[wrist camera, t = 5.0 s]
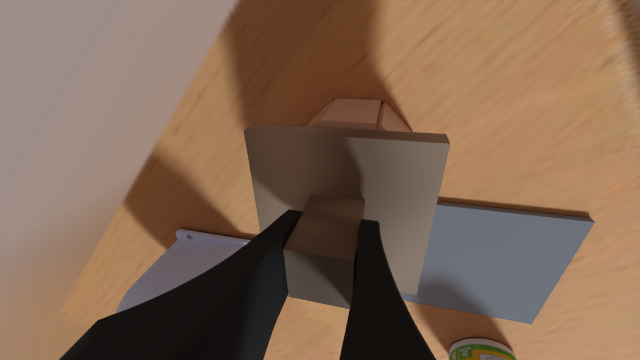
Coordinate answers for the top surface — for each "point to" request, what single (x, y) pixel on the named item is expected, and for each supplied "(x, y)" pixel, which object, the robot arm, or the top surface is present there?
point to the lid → (346, 200)
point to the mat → (496, 259)
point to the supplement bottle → (480, 350)
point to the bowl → (359, 116)
